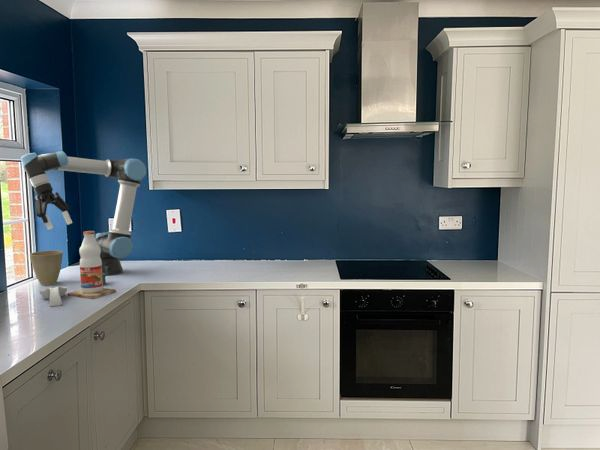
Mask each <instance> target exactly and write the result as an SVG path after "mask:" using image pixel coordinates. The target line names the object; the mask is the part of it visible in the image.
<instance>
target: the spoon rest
mask: <svg viewBox="0 0 600 450" xmlns="http://www.w3.org/2000/svg"><path fill="white" fill-rule="evenodd" d="M68 288H69V287H66V286H59V285H58V286H56V287H47V288H44V289H40V290H38V293H39V295H40V296H41V297H43V298H45V299H47V300H49V307H50V308H51V307H52V308H53V307H58V306H59V307H60V306H62V305H63V303H62V302H63V301H62V297H63V296H64V295H66V293H67V291H68Z"/></svg>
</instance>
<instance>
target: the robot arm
mask: <svg viewBox="0 0 600 450" xmlns="http://www.w3.org/2000/svg"><path fill="white" fill-rule="evenodd" d="M20 161H21V164H22V167H23V169H24V172H26V175H27V177H28V180H29V181H30V183H31V186H32V187H33V190H34V193H35V194H36V196H34V197H33V199H34V202H35V204H34V205H35V213H36V214H35V216H37V217H38V218H40V219H41V220H42V222H43V223H44V225H45V227H46V229H47V231H50V230H52V229H53V228H54V226H53V223H52V221H51V219H50V218H49V215H48V214H47V209H48V205H50V204H51V205H54V206H55V207H56V208H57V209H58V210H60V211H61V214H62V217H63V219H64V220H65V223H66V225H67V226H68V225H71V224H73V221H72V219H71V215H70V213H69V210H70V206H69V205H68V204H67V202H65V200H64V199H62V196H61V195H60V194H59V192H58V191H57V192H54V193H53V190H54V189H53V187H52V185H51V183H50V179H49V178H48V175H47V173H46V172H48V171H51V170H54V171H66V172H75V173H84V174H85V173H86V174H93V175H95V174H96V175H103V176H105V177H106V178H113V179H117V182H118V183H119V190H118V195H117V200H116V201H117V202H116V206H115V211H114V217H113V221H112V227H111V229H109V230H108V232H97V233H95V239H96V241H97V244H98V245H99V246H100V249H101V253H100V258H101V261H102V273H105V267H107V266H108V275H107V276H111V275H113V276H114V275H119V274H121V273H123V269H124V268H123V266H122V263H121V260H120V259H123V258H126V257H128V256H129V255H130V254H131V252H132V250H133V247H134V246H133V242H132V240H131V237H132V234H131V232H130V227H131V221H132V216H133V209H134V204H135V200H136V193H137V188H138V187H140V186H141V182H142V180H143V179H144V178H145V176H146V174H147V168H146V165H145V164H144V162H142V160H140V159H137V158H131V157H130V158H122V159H108V158H107V159H106V160H99V159H94V158H93V159H90V158H82V157H75V156H68V155H67V154H66V153H65V152H64V151H63V150H61V151H54V152H50V153H42V154H41V153H40V154H39V155H38V154H37V152H30V153H26V154H24V155H22V156H21V157H20Z"/></svg>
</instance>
